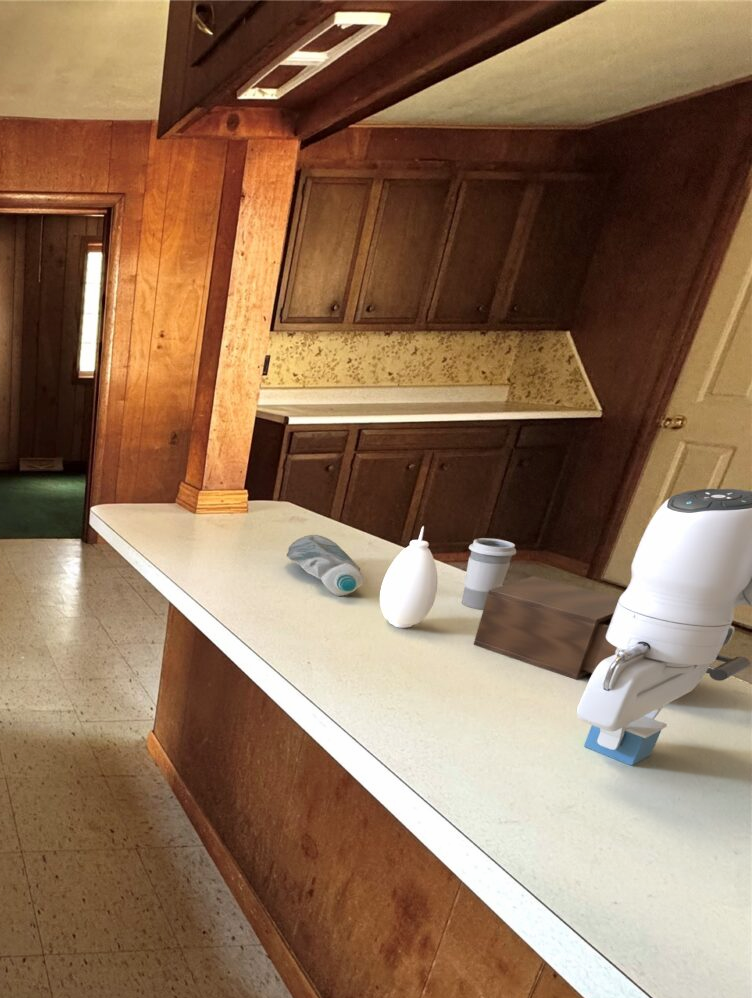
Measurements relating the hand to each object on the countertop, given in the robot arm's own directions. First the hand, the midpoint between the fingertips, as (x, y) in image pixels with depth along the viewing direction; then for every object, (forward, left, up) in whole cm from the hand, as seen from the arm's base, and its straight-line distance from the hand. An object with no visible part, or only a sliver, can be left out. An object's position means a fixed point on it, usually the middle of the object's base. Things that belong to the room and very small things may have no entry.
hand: (621, 738), depth 79 cm
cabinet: (+18, -23, -2) cm, 29 cm away
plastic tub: (0, 0, -2) cm, 2 cm away
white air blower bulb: (+35, -14, -2) cm, 38 cm away
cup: (+34, -35, -2) cm, 49 cm away
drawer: (+7, -23, -1) cm, 24 cm away
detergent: (+56, -23, -2) cm, 61 cm away
